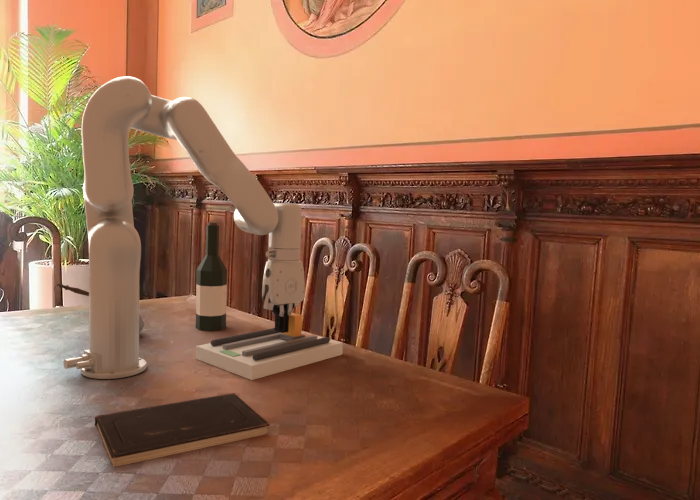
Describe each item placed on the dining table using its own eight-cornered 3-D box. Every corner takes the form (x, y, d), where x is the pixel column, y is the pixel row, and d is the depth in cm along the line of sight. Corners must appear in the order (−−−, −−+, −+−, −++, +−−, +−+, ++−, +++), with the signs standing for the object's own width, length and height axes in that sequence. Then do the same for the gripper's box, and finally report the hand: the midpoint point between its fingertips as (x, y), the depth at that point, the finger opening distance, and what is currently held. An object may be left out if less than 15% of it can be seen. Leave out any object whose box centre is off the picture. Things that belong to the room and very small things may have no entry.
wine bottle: (232, 327, 154) (234, 223, 151) (210, 332, 147) (212, 223, 144) (211, 323, 158) (213, 221, 156) (189, 327, 151) (191, 221, 149)
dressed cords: (255, 361, 112) (255, 355, 112) (209, 345, 123) (209, 339, 123) (331, 342, 130) (331, 337, 130) (285, 330, 141) (285, 325, 141)
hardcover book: (269, 437, 85) (269, 423, 84) (111, 472, 72) (111, 456, 72) (233, 404, 98) (233, 391, 98) (94, 428, 86) (94, 414, 85)
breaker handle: (292, 341, 128) (293, 317, 128) (279, 337, 131) (280, 313, 131) (304, 339, 131) (305, 314, 131) (291, 335, 134) (292, 311, 134)
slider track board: (251, 380, 110) (252, 361, 109) (195, 358, 123) (196, 341, 122) (342, 354, 131) (343, 338, 131) (286, 338, 144) (287, 324, 143)
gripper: (270, 258, 119) (267, 339, 120) (317, 255, 130) (314, 329, 132) (249, 255, 124) (246, 333, 125) (296, 252, 135) (293, 324, 136)
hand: (281, 331), depth 128 cm, fingers closed
